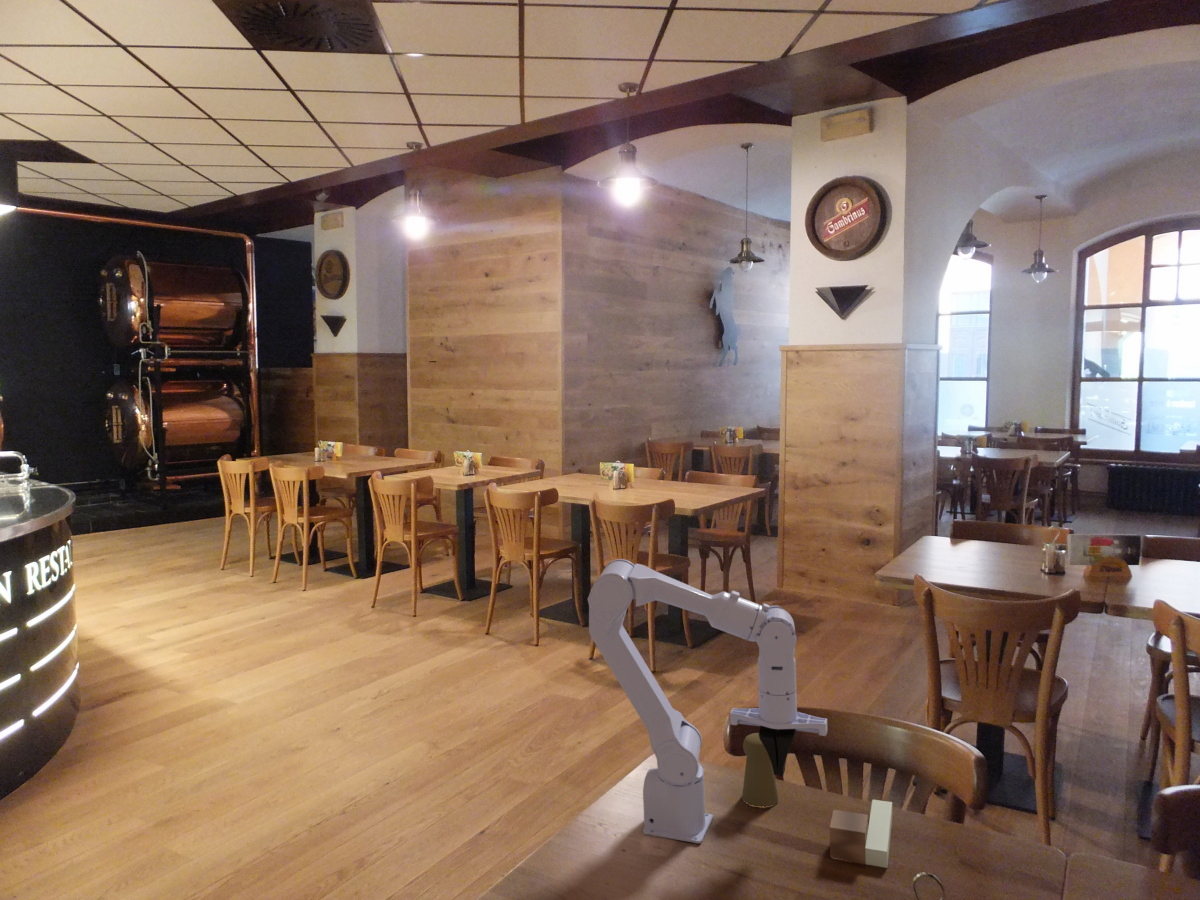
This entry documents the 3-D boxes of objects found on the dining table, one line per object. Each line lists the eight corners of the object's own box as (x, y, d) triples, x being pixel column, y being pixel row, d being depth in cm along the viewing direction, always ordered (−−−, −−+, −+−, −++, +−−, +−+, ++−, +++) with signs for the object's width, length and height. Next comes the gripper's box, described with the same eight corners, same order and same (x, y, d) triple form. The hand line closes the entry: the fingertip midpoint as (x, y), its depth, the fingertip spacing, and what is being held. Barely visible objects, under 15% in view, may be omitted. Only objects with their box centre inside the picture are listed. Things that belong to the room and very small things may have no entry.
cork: (778, 809, 138) (777, 745, 137) (741, 807, 140) (739, 744, 138) (778, 790, 144) (776, 729, 143) (742, 788, 146) (740, 727, 144)
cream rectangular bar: (865, 864, 123) (865, 848, 123) (872, 814, 136) (872, 799, 135) (887, 868, 122) (887, 851, 121) (892, 817, 135) (892, 802, 134)
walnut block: (830, 859, 125) (829, 827, 124) (834, 840, 129) (833, 809, 129) (865, 865, 123) (865, 832, 122) (868, 846, 127) (867, 814, 127)
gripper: (829, 683, 130) (830, 766, 132) (736, 674, 136) (738, 754, 137) (823, 701, 124) (825, 789, 125) (726, 691, 129) (728, 775, 131)
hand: (779, 772), depth 131 cm, fingers closed
